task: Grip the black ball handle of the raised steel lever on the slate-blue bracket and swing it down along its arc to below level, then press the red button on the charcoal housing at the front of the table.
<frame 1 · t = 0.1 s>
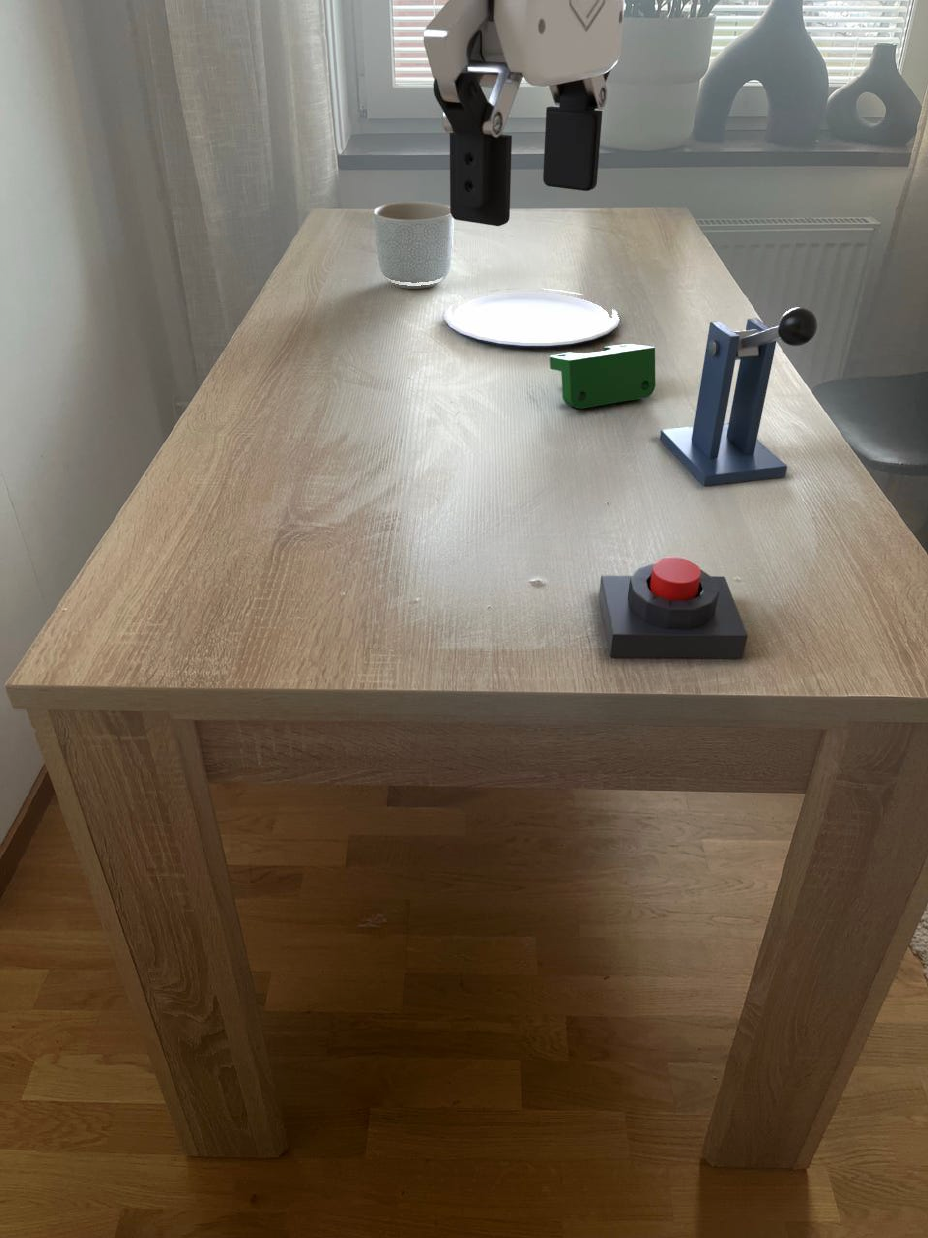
hand: (527, 203, 50), 32 cm above the table, tool pointing down, fingers open, 9 cm apart
bracket: (720, 457, 97), on the table
button box: (667, 626, 73), on the table
planter: (415, 284, 147), on the table
button: (675, 579, 70), point 4 cm above the table, slide at 0.1 cm
lever: (767, 336, 85), point 14 cm above the table, hinge at 28.0°
green mounting block: (598, 397, 110), on the table
plate: (530, 323, 132), on the table
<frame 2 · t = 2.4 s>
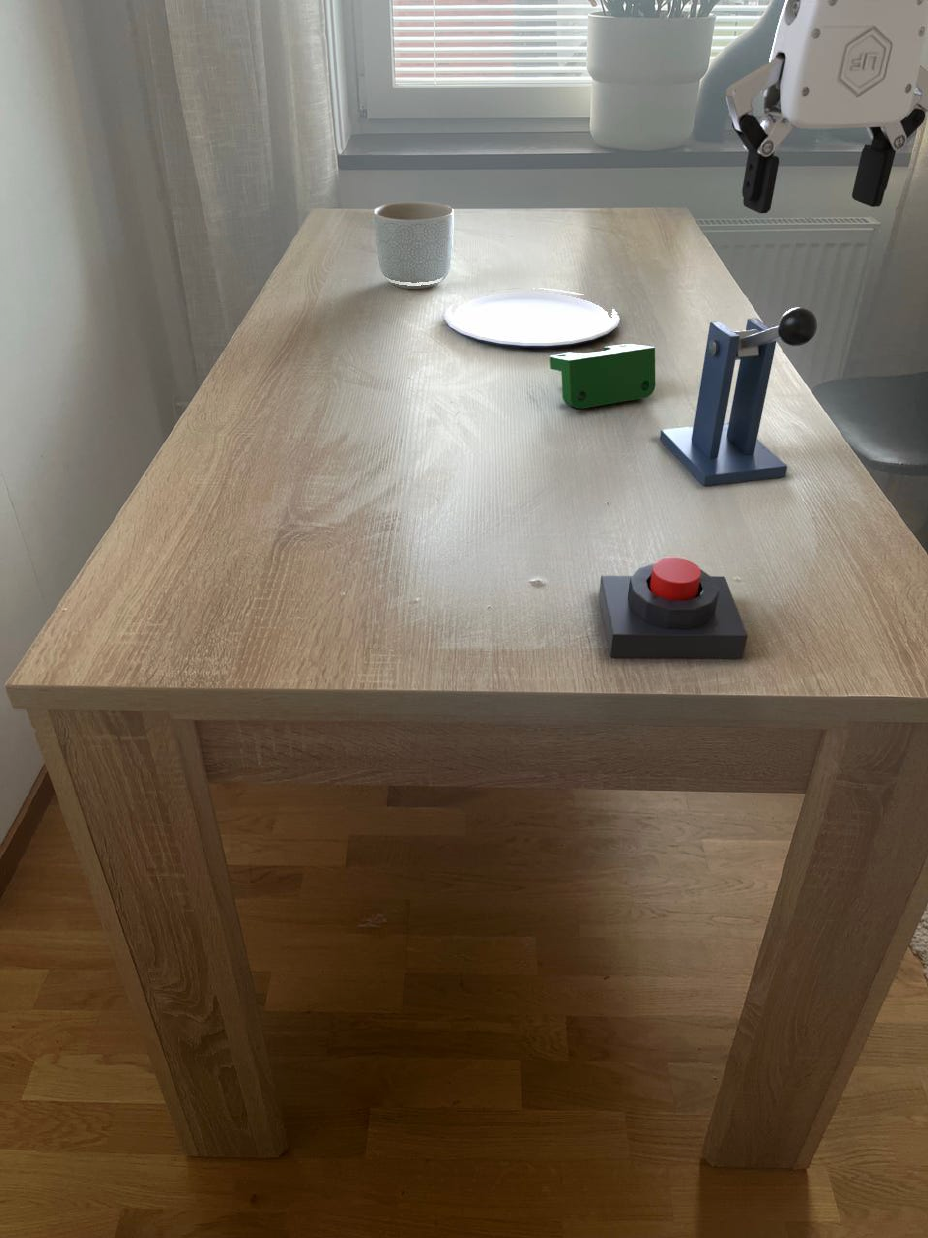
hand: (811, 205, 73), 27 cm above the table, tool pointing down, fingers open, 9 cm apart
nothing on the table moved.
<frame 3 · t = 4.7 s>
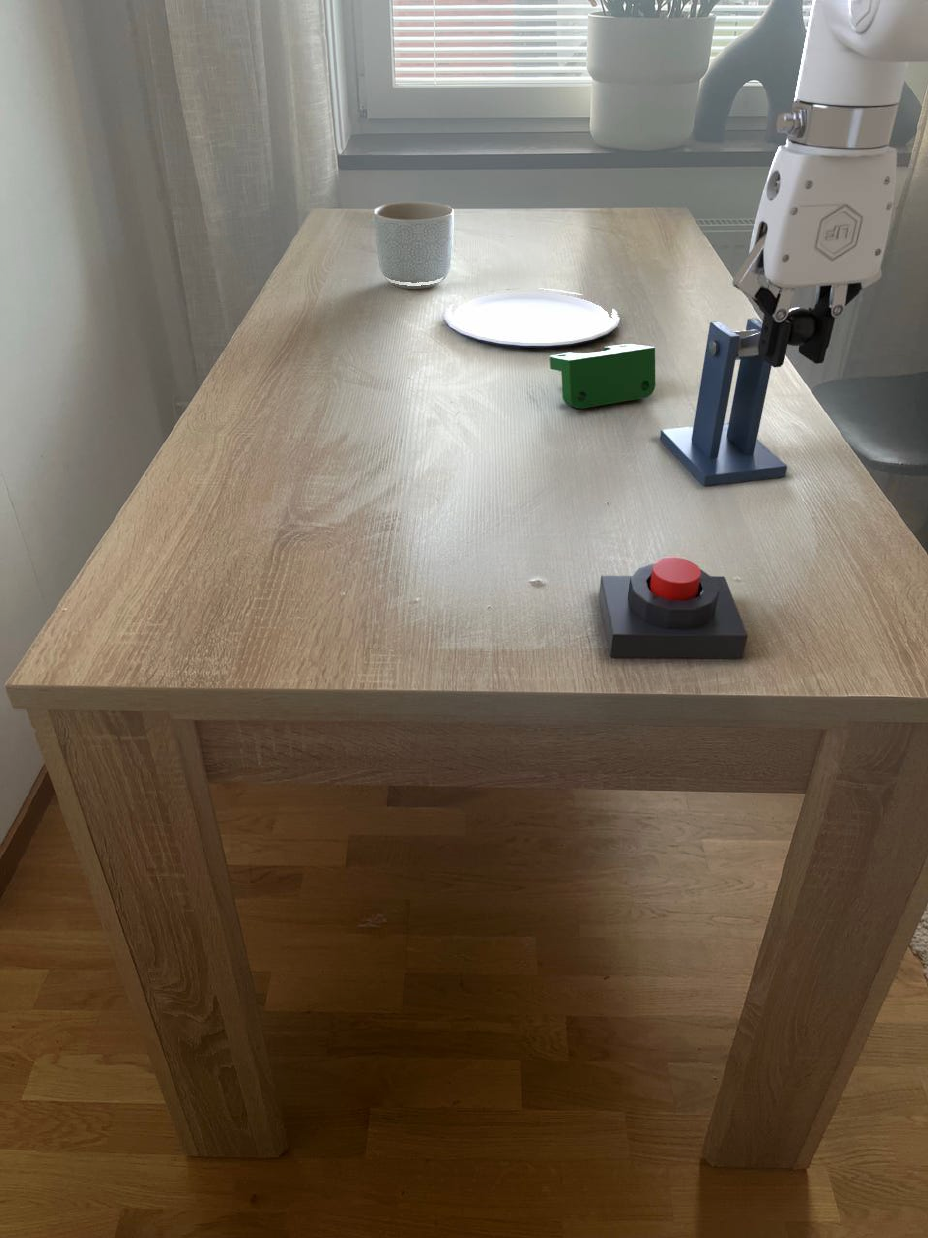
hand: (790, 357, 82), 14 cm above the table, tool pointing down, fingers closed on lever, 3 cm apart
lever: (767, 336, 85), point 14 cm above the table, hinge at 28.0°, touching gripper
everything else where it was.
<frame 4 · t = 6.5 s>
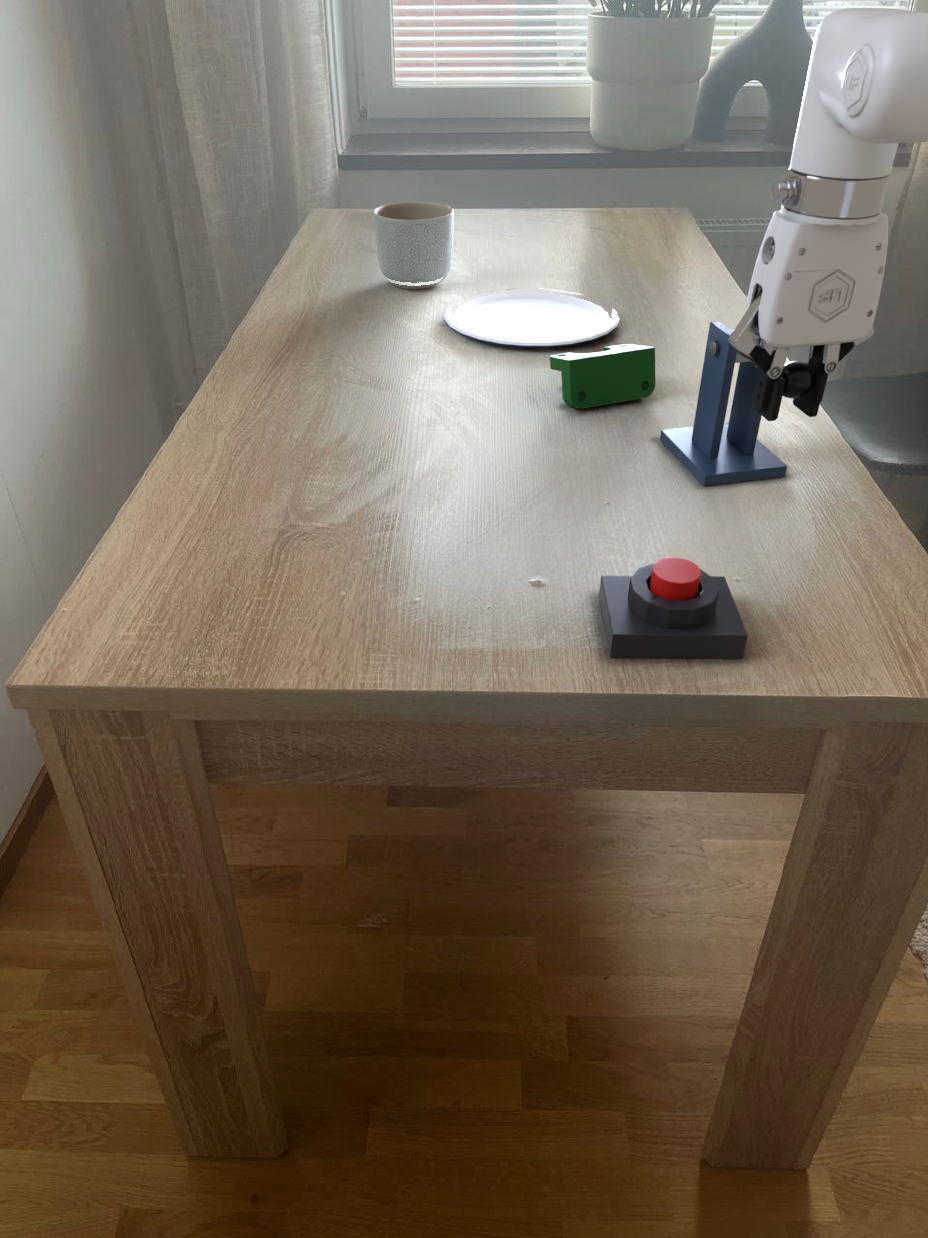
hand: (785, 411, 84), 9 cm above the table, tool pointing down, fingers closed on lever, 3 cm apart
lever: (766, 362, 86), point 12 cm above the table, hinge at 2.0°, touching gripper
everything else where it was.
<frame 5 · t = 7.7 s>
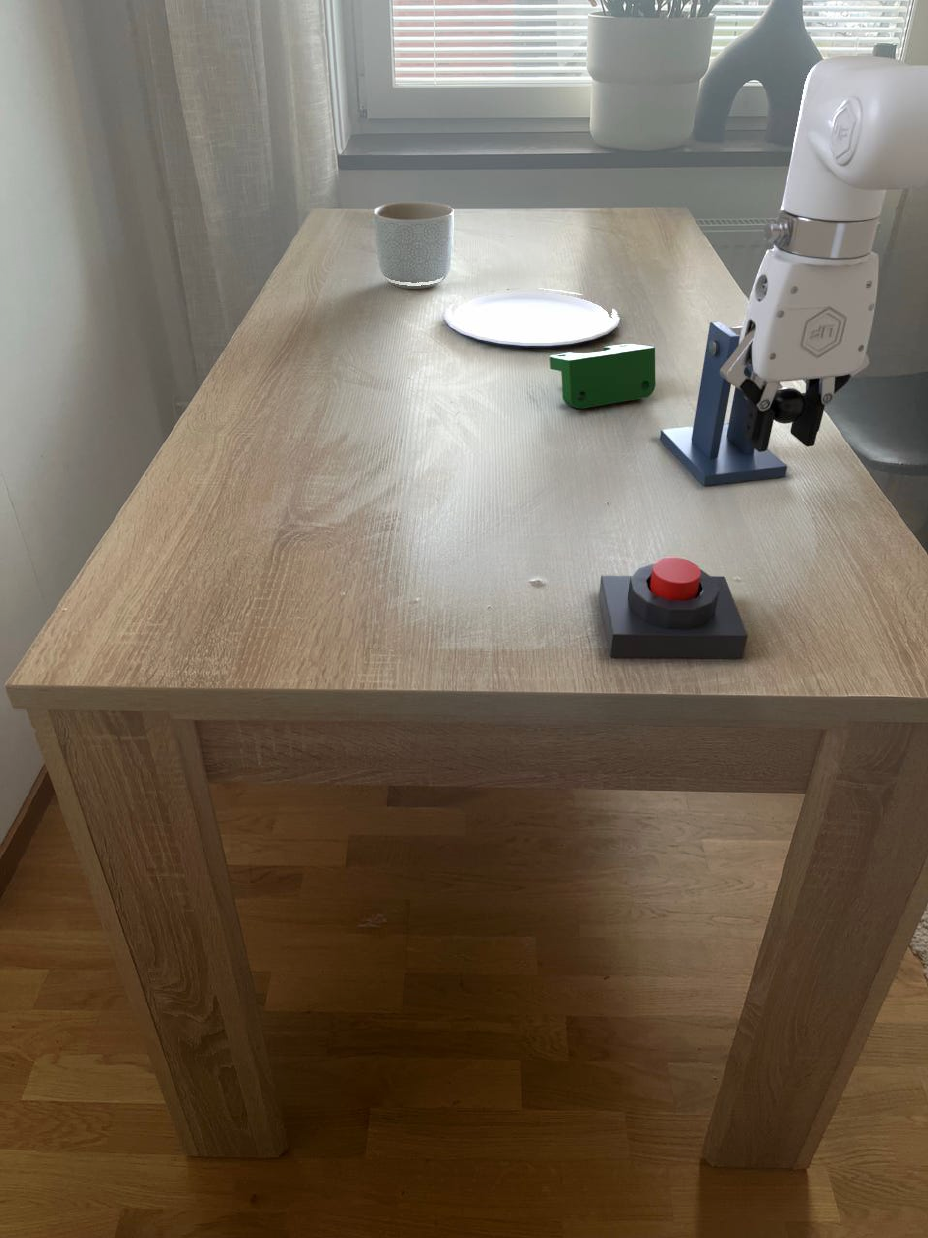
hand: (778, 440, 85), 6 cm above the table, tool pointing down, fingers open, 4 cm apart
lever: (763, 374, 86), point 11 cm above the table, hinge at -12.4°
everything else where it was.
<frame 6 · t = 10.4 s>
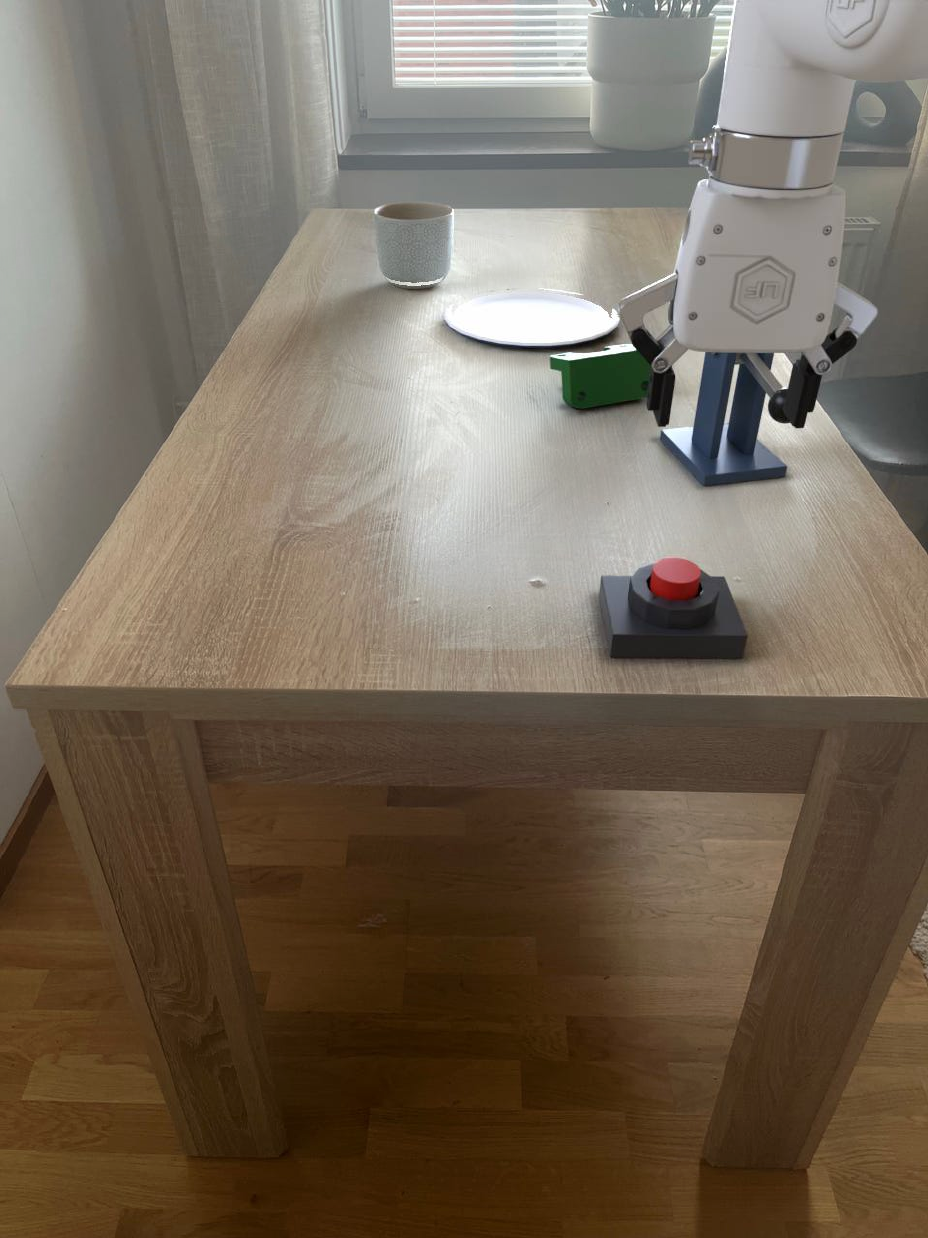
hand: (726, 419, 67), 16 cm above the table, tool pointing down, fingers open, 9 cm apart
nothing on the table moved.
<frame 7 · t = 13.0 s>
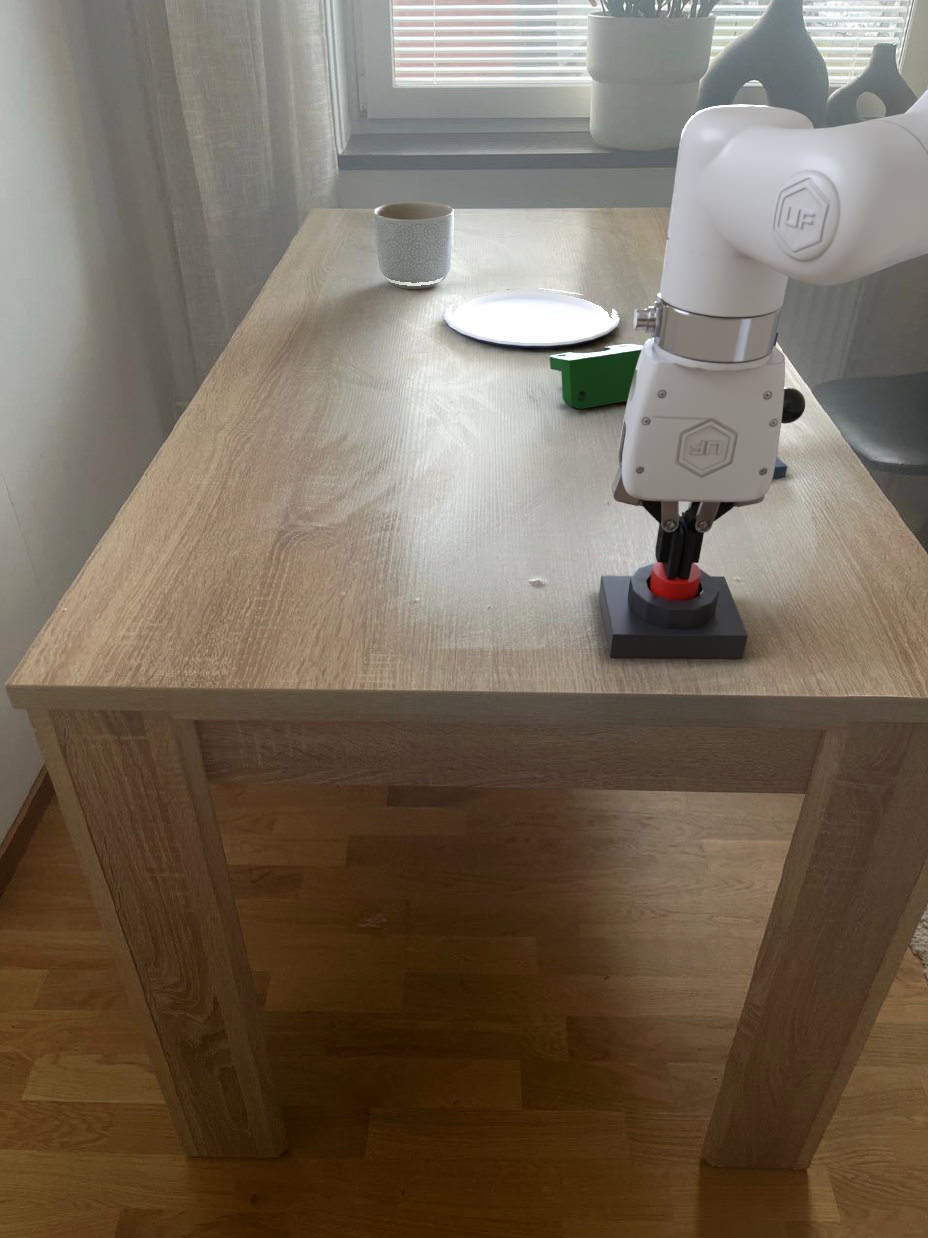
hand: (674, 568, 70), 5 cm above the table, tool pointing down, fingers closed
button: (675, 579, 70), point 4 cm above the table, slide at 0.1 cm, touching gripper
everything else where it was.
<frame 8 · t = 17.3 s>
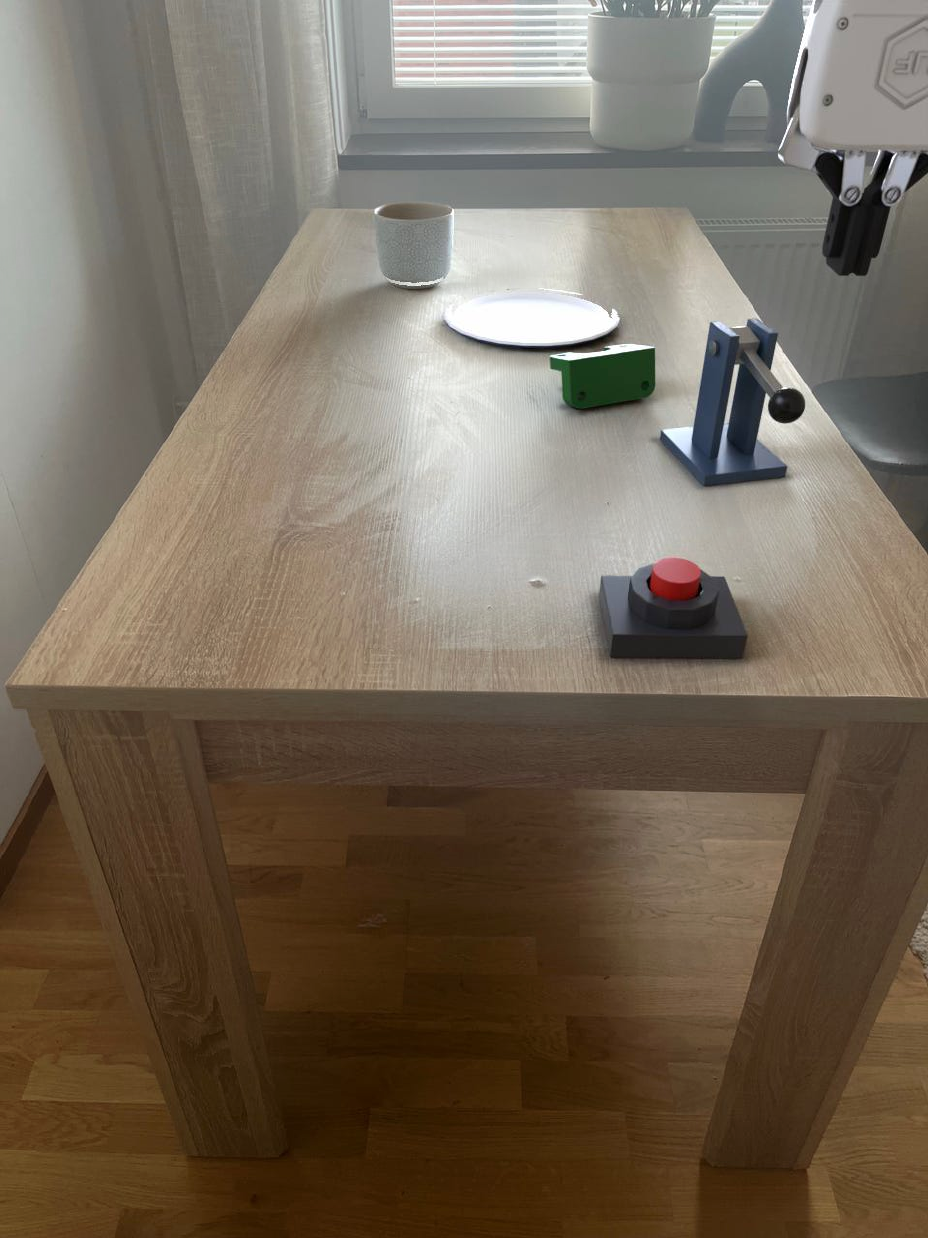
hand: (845, 269, 57), 27 cm above the table, tool pointing down, fingers closed
button: (675, 579, 70), point 4 cm above the table, slide at 0.1 cm
everything else where it was.
at the end: lever at -12° (first picture: +28°); button pushed in 1.1 cm at the most during the clip, back to where it started at the end; button slide at 0.1 cm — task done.
